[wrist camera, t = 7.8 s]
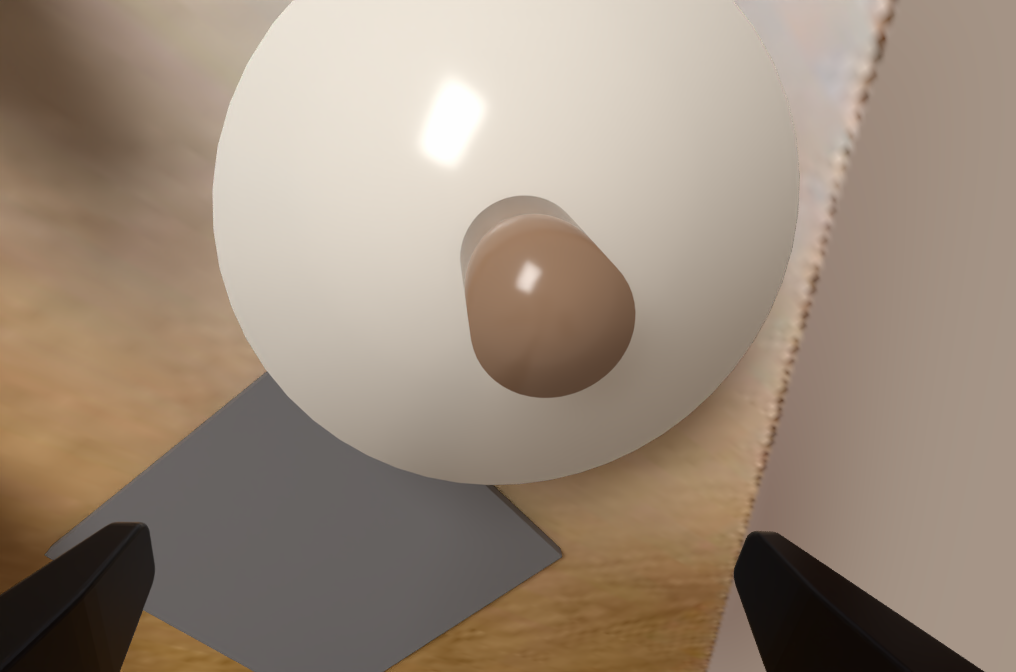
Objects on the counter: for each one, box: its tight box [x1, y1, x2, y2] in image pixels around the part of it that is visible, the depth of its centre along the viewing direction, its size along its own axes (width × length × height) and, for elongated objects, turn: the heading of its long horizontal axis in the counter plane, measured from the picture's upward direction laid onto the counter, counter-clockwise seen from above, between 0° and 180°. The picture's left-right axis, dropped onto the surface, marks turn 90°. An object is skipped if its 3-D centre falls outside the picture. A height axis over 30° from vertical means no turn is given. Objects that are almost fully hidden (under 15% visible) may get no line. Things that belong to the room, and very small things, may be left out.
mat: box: [45, 372, 562, 672], centre depth 24 cm, size 15×15×1 cm
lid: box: [213, 0, 800, 485], centre depth 12 cm, size 14×14×5 cm
